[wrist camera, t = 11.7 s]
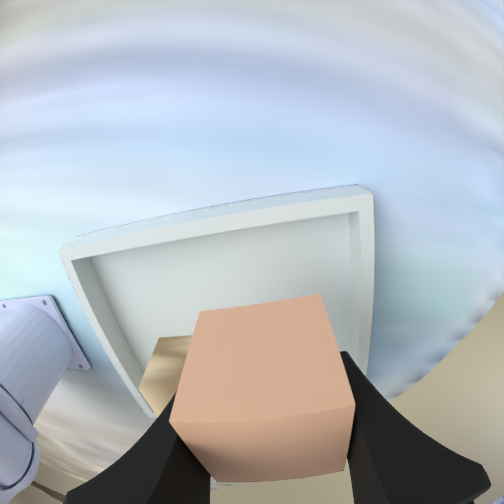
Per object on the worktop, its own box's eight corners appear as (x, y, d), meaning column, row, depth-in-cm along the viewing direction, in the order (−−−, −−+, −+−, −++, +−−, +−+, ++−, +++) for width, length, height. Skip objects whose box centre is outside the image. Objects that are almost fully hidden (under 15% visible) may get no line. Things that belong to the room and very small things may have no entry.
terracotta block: (227, 387, 12) (217, 482, 8) (199, 311, 11) (169, 421, 6) (324, 375, 12) (343, 470, 7) (320, 293, 10) (355, 404, 6)
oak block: (179, 379, 21) (166, 428, 16) (159, 337, 19) (138, 388, 15) (233, 375, 21) (228, 428, 16) (218, 332, 19) (208, 387, 14)
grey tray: (154, 397, 23) (148, 417, 21) (77, 236, 17) (57, 250, 15) (355, 378, 21) (362, 400, 19) (356, 184, 15) (372, 193, 13)
